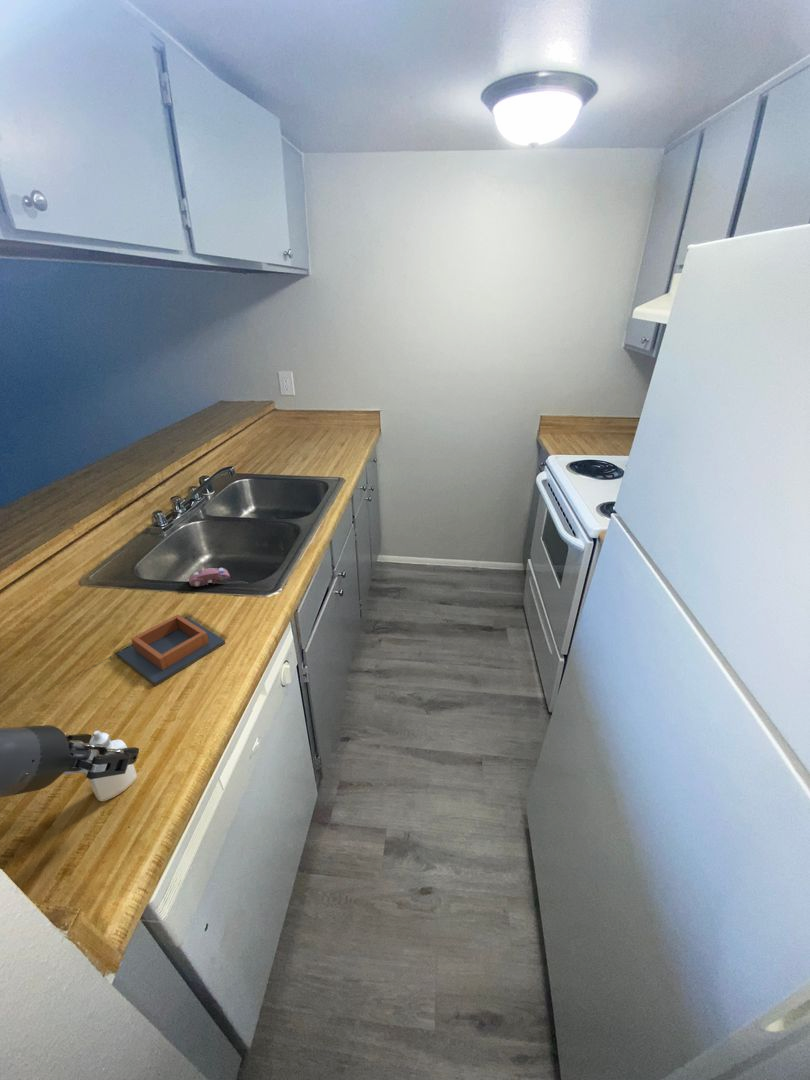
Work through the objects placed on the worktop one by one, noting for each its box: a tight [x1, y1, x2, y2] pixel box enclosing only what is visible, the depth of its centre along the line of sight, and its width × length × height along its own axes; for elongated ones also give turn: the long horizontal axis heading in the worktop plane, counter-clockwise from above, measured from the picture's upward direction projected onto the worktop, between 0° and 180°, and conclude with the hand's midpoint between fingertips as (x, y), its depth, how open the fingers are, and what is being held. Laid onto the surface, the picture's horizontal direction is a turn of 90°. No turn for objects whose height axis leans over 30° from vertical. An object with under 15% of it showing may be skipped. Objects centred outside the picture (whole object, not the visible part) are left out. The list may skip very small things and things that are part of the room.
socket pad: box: [116, 614, 226, 687], centre depth 100 cm, size 16×14×4 cm
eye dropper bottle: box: [85, 730, 138, 802], centre depth 70 cm, size 4×6×12 cm
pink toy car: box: [188, 567, 231, 588], centre depth 121 cm, size 10×5×7 cm, turn 114°
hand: (111, 748), depth 70 cm, fingers open, 8 cm apart
